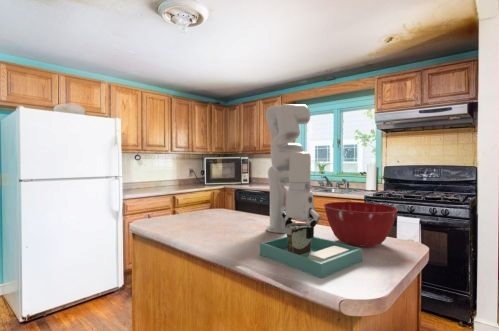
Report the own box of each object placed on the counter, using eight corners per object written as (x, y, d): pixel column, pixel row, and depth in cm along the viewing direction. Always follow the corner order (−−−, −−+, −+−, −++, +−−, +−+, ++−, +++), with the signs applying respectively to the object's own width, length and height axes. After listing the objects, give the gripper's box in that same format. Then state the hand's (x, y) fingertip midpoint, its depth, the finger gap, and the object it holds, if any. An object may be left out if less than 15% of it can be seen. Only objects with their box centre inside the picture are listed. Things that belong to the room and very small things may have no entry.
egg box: (334, 256, 97) (334, 245, 97) (350, 261, 93) (350, 249, 93) (307, 266, 88) (307, 253, 88) (324, 272, 84) (324, 259, 84)
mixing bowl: (342, 231, 137) (342, 199, 137) (407, 243, 117) (407, 205, 117) (310, 243, 117) (310, 205, 116) (383, 260, 97) (383, 215, 97)
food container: (300, 247, 108) (300, 221, 108) (313, 251, 103) (313, 224, 103) (277, 254, 100) (277, 225, 100) (290, 258, 95) (290, 229, 95)
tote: (301, 245, 114) (301, 232, 114) (362, 263, 94) (362, 248, 94) (259, 257, 100) (260, 243, 100) (321, 281, 80) (321, 264, 80)
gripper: (326, 188, 96) (325, 238, 96) (288, 184, 109) (288, 228, 110) (312, 190, 91) (311, 243, 91) (274, 185, 104) (274, 231, 105)
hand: (298, 235), depth 101 cm, fingers open, 9 cm apart
